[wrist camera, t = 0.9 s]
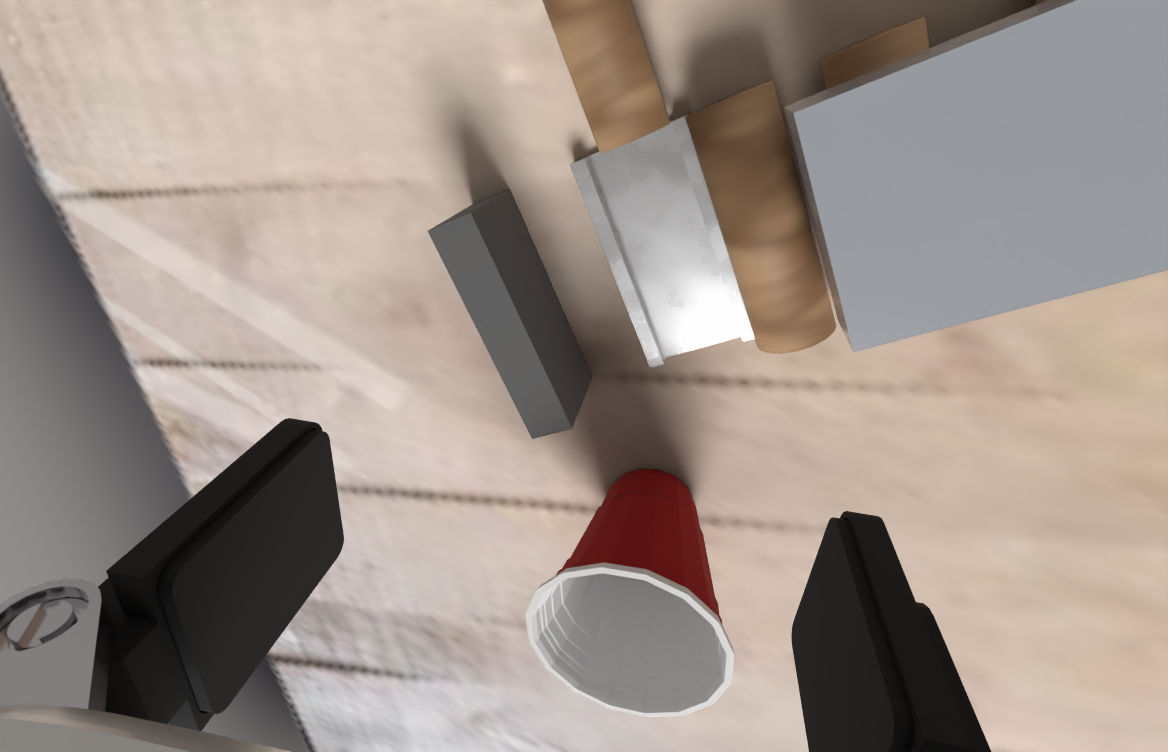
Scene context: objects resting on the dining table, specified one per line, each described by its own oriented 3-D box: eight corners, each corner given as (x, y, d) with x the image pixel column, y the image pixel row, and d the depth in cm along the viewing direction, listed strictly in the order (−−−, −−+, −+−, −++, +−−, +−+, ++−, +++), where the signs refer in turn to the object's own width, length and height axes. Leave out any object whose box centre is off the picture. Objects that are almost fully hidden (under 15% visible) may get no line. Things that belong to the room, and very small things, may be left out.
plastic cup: (551, 443, 40) (494, 578, 30) (717, 426, 37) (717, 569, 27) (589, 566, 44) (551, 721, 34) (739, 560, 41) (748, 727, 31)
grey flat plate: (688, 113, 29) (688, 115, 28) (756, 329, 34) (757, 337, 33) (574, 161, 31) (569, 165, 30) (651, 359, 36) (650, 367, 35)
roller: (587, -177, 25) (543, -192, 22) (681, 116, 29) (653, 133, 27) (522, -125, 27) (475, -133, 24) (618, 142, 31) (587, 159, 29)
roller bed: (1131, -74, 23) (1205, -98, 20) (1144, 218, 28) (1206, 240, 24) (686, 114, 29) (683, 121, 26) (754, 330, 34) (759, 361, 30)
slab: (1284, -96, 20) (1389, -125, 16) (1273, 199, 23) (1358, 220, 20) (783, 106, 25) (793, 112, 22) (838, 321, 28) (853, 352, 25)
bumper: (509, 189, 33) (470, 212, 27) (592, 376, 37) (572, 428, 32) (472, 204, 34) (427, 231, 28) (557, 386, 38) (532, 438, 33)
